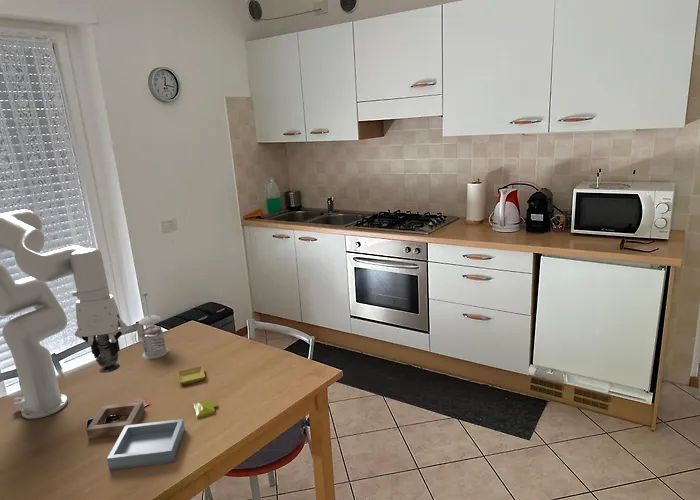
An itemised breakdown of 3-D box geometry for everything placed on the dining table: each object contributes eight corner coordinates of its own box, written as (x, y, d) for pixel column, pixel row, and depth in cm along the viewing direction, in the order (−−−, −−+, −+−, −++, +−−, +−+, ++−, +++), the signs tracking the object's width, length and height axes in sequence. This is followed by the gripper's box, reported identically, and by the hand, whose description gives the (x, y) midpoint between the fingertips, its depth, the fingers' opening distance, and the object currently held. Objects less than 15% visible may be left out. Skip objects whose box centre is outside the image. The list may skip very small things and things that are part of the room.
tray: (109, 470, 124) (106, 458, 123) (127, 436, 137) (125, 425, 136) (173, 462, 125) (171, 450, 124) (185, 429, 139) (183, 418, 138)
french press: (174, 350, 190) (164, 290, 183) (148, 363, 180) (137, 300, 174) (158, 345, 195) (147, 286, 188) (132, 357, 185) (120, 296, 179)
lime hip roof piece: (188, 407, 151) (187, 399, 150) (218, 399, 154) (217, 391, 154) (192, 424, 142) (191, 416, 141) (224, 415, 146) (223, 407, 145)
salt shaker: (112, 373, 134) (103, 333, 130) (93, 373, 135) (84, 333, 132) (125, 363, 139) (117, 325, 136) (107, 362, 140) (99, 324, 137)
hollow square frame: (88, 438, 137) (86, 429, 136) (104, 414, 149) (102, 405, 148) (132, 433, 138) (130, 424, 138) (144, 409, 150) (142, 401, 149)
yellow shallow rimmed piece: (206, 382, 165) (205, 376, 164) (179, 388, 162) (178, 382, 161) (203, 370, 173) (202, 365, 172) (178, 376, 170) (177, 371, 169)
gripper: (54, 301, 127) (70, 364, 131) (121, 295, 128) (133, 357, 133) (67, 292, 134) (81, 352, 139) (130, 286, 136) (141, 345, 140)
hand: (106, 354), depth 136 cm, fingers closed on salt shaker, 4 cm apart
